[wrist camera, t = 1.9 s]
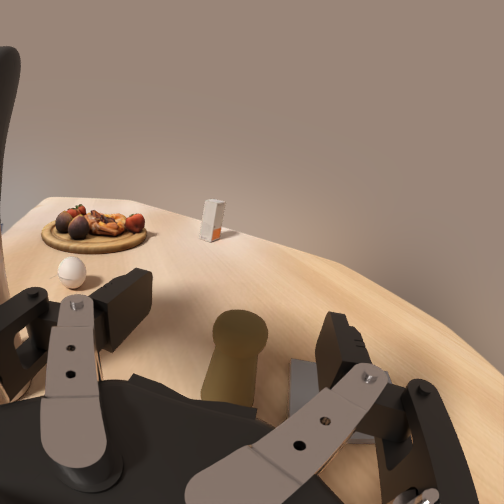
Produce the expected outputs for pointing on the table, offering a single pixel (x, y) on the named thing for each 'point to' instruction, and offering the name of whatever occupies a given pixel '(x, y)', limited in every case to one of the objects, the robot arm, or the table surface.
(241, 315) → the cork
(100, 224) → the wooden plate with food
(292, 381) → the slate tile
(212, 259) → the table surface
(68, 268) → the white egg
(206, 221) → the skincare box
